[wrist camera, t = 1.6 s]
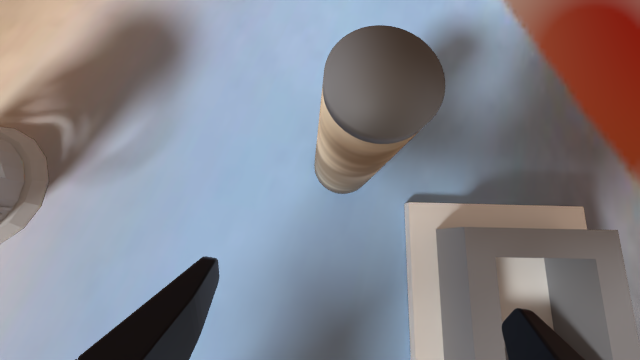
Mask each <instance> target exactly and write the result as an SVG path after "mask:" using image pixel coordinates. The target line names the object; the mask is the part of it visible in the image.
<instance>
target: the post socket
mask: <svg viewBox="0 0 640 360" xmlns="http://www.w3.org/2000/svg"><path fill="white" fill-rule="evenodd" d="M404 209H405V233H406V257H407V281H408V305H409V329H410V353H411V360H508V355H507V351H506V347H505V342H504V338H503V334H502V323H503V321H504V320H505V319H506V318H507V317H508V316H509V315H510V313H511V312H512V311H513V310H514V309H516V308H521V309H527V310H531V311H533V312H534V313H535V314H536V315H537V316H539V317H540V318H541V319H542V320H543V321H544V322H545V323H546V324H547V325H548V326H549V327H550V328H552V329H553V330H554V331H555V332H556V333H557V334H558V335H559V336H560V337H561V338H562V339H563V340H564V341H566V342H567V343H568V344H569V345H570V346H571V347H572V348H573V349H574V350H575V351H576V352H577V353H578V354H580V355H581V356H582V357H583V358H584V359H585V360H640V344H639V338H638V333H637V328H636V323H635V317H634V312H633V307H632V302H631V297H630V291H629V286H628V281H627V276H626V270H625V265H624V260H623V255H622V249H621V244H620V239H619V234H618V230H587V226H586V220H585V214H584V208H583V207H577V206H537V205H497V204H457V203H417V202H408V203H405V204H404Z"/></svg>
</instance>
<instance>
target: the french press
mask: <svg viewBox="0 0 640 360" xmlns="http://www.w3.org/2000/svg"><path fill="white" fill-rule="evenodd" d="M48 183H49V177H48V168H47V159H46V157H45V155H44V154H43V152H42V151H41V149H40V148H39V146H38V145H37V143H36V142H35V140H34V139H32V138H30V137H28V136H27V135H25V134H23V133H22V132H20V131H18V130H16V129H14V128H6V127H0V244H1V243H2V242H4V241H5V240H7V239H8V238H10V237H11V236H13V235H14V234H16V233H17V232H19V231H20V230H22V229H23V228H24V227H25V226H26V225H27V223H28V222H29V221H30V220H31V218H32V217H33V216H34V214H35V213H36V212H37V211H38V209H39V208H40V207H41V205H42V202H43V199H44V195H45V192H46V189H47V186H48Z"/></svg>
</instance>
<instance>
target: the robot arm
mask: <svg viewBox="0 0 640 360" xmlns="http://www.w3.org/2000/svg"><path fill="white" fill-rule="evenodd" d="M218 281H219V267H218V260H217V259H216V258H212V257H202V258H201V259H199V260H198V261H197V262H196V263H194V264H193V265H192V266H191V267H189V268H188V269H187V270H186V271H185V272H183V273H182V274H181V275H180V276H178V277H177V278H176V279H175V280H173V281H172V282H171V283H170V284H168V285H167V286H166V287H165V288H163V289H162V290H161V291H160V292H158V293H157V294H156V295H155V296H153V297H152V298H151V299H150V300H149V301H147V302H146V303H145V304H144V305H142V306H141V307H140V308H139V309H137V310H136V311H135V312H134V313H132V314H131V315H130V316H129V317H127V318H126V319H125V320H124V321H122V322H121V323H120V324H119V325H117V326H116V327H115V328H114V329H112V330H111V331H110V332H109V333H108V334H106V335H105V336H104V337H103V338H101V339H100V340H99V341H98V342H96V343H95V344H94V345H93V346H91V347H90V348H89V349H88V350H86V351H85V352H84V353H83V354H81V355H80V356H79V358H78V360H189V359H190V356H191V354H192V352H193V350H194V348H195V346H196V343H197V341H198V339H199V337H200V334H201V331H202V329H203V326H204V323H205V320H206V317H207V314H208V311H209V308H210V305H211V302H212V299H213V296H214V294H215V291H216V288H217V285H218ZM502 334H503V338H504V342H505V347H506V351H507V355H508V360H585V359H584V358H583V357H582V356H581V355H580V354H578V353H577V352H576V351H575V350H574V349H573V348H572V347H571V346H570V345H569V344H568V343H567V342H566V341H564V340H563V339H562V338H561V337H560V336H559V335H558V334H557V333H556V332H555V331H554V330H553V329H552V328H550V327H549V326H548V325H547V324H546V323H545V322H544V321H543V320H542V319H541V318H540V317H539V316H537V315H536V314H535V313H534V312H533V311H531V310H527V309H521V308H516V309H514V310H513V311H512V312H511V313H510V315H509V316H508V317H507V318H506V319H505V320H504V321H503V323H502ZM76 360H77V359H76Z"/></svg>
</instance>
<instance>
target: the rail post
mask: <svg viewBox="0 0 640 360" xmlns="http://www.w3.org/2000/svg"><path fill="white" fill-rule="evenodd" d="M444 93H445V78H444V72H443V69H442V66H441V64H440V62H439V60H438V58H437V56H436V55H435V53H434V52H433V51H432V49H431V48H430V47H429V46H428V45H427V44H426V43H425V42H424V41H422V40H421V39H420V38H419V37H417V36H415V35H414V34H412V33H410V32H408V31H406V30H403V29H400V28H396V27H392V26H368V27H364V28H360V29H358V30H355V31H353V32H351V33H349V34H348V35H346V36H345V37H343V38H342V39H341V40H340V41H339V42H338V43H337V44H336V45H335V46H334V48H333V49H332V50H331V52H330V54H329V56H328V58H327V61H326V64H325V68H324V77H323V87H322V97H321V106H320V116H319V126H318V135H317V145H316V155H315V165H314V166H315V173H316V176H317V178H318V180H319V181H320V183H321V184H322V185H323V186H324V187H325V188H327V189H328V190H330V191H332V192H335V193H340V194H346V193H351V192H354V191H356V190H358V189H359V188H361V187H362V186H363V185H364V184H365V183H366V182H367V181H368V180H369V179H370V178H371V177H372V176H373V175H374V174H375V173H376V172H377V171H379V170H380V169H381V168H382V167H383V166H384V165H385V164H386V163H387V162H388V161H389V160H390V159H391V158H392V157H393V156H394V155H395V154H396V153H397V152H398V151H399V150H400V149H401V148H402V147H403V146H405V145H406V144H407V143H408V142H409V141H410V140H411V139H412V138H413V137H414V136H415V135H416V134H417V133H418V132H419V131H420V130H421V129H422V128H423V127H424V126H425V125H426V124H427V123H428V122H429V121H430V120H431V119H432V118H433V117H434V116H435V115H436V113H437V112H438V110H439V108H440V106H441V104H442V101H443V98H444Z"/></svg>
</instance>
